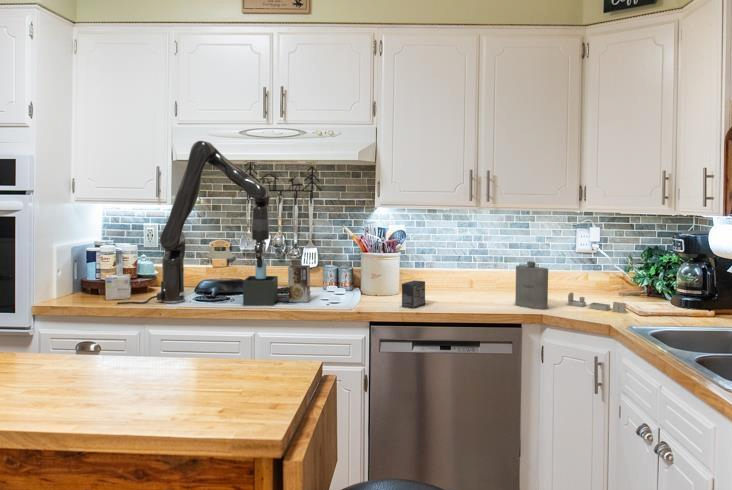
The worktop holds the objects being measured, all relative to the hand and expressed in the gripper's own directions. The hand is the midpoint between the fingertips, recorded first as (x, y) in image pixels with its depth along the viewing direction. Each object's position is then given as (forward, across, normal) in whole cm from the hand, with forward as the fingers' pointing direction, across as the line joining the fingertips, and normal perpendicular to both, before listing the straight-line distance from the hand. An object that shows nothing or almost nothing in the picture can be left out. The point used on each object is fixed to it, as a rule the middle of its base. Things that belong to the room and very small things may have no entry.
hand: (260, 266), depth 277 cm
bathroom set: (+17, +9, +149) cm, 151 cm away
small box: (+17, +5, +69) cm, 71 cm away
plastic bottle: (+5, 0, 0) cm, 5 cm away
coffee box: (+17, -4, +17) cm, 24 cm away
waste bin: (+17, 0, 0) cm, 17 cm away
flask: (+17, +6, +121) cm, 122 cm away
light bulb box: (+17, -8, -68) cm, 70 cm away
